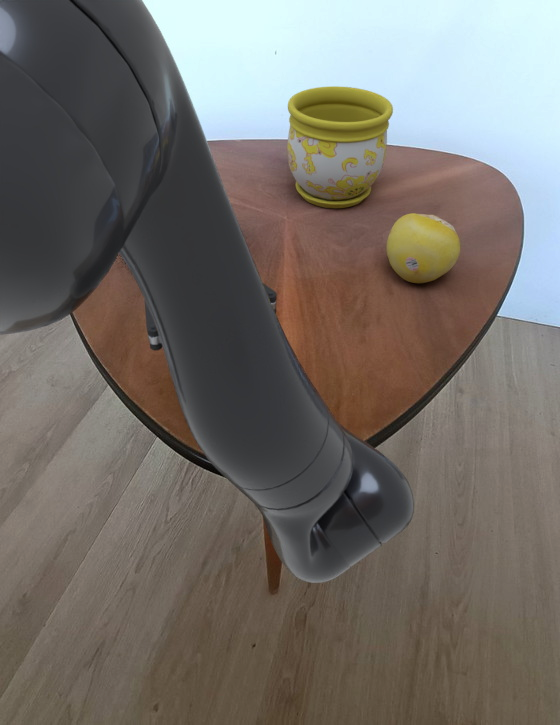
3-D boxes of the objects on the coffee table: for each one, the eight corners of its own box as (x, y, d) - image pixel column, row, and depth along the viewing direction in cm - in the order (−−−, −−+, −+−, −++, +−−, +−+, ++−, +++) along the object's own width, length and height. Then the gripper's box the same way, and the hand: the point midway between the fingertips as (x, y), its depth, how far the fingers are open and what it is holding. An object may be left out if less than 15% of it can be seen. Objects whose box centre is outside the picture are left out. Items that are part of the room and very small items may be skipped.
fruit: (451, 298, 82) (468, 240, 76) (379, 288, 84) (389, 230, 77) (451, 261, 90) (467, 204, 83) (385, 252, 91) (394, 196, 84)
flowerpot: (269, 183, 108) (269, 95, 97) (345, 164, 115) (354, 80, 103) (316, 225, 97) (323, 131, 86) (399, 202, 103) (415, 112, 92)
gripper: (316, 313, 50) (240, 224, 61) (163, 360, 45) (110, 254, 56) (311, 371, 55) (242, 280, 66) (174, 419, 50) (123, 312, 61)
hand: (182, 269), depth 61 cm, fingers closed on corn cob, 4 cm apart
